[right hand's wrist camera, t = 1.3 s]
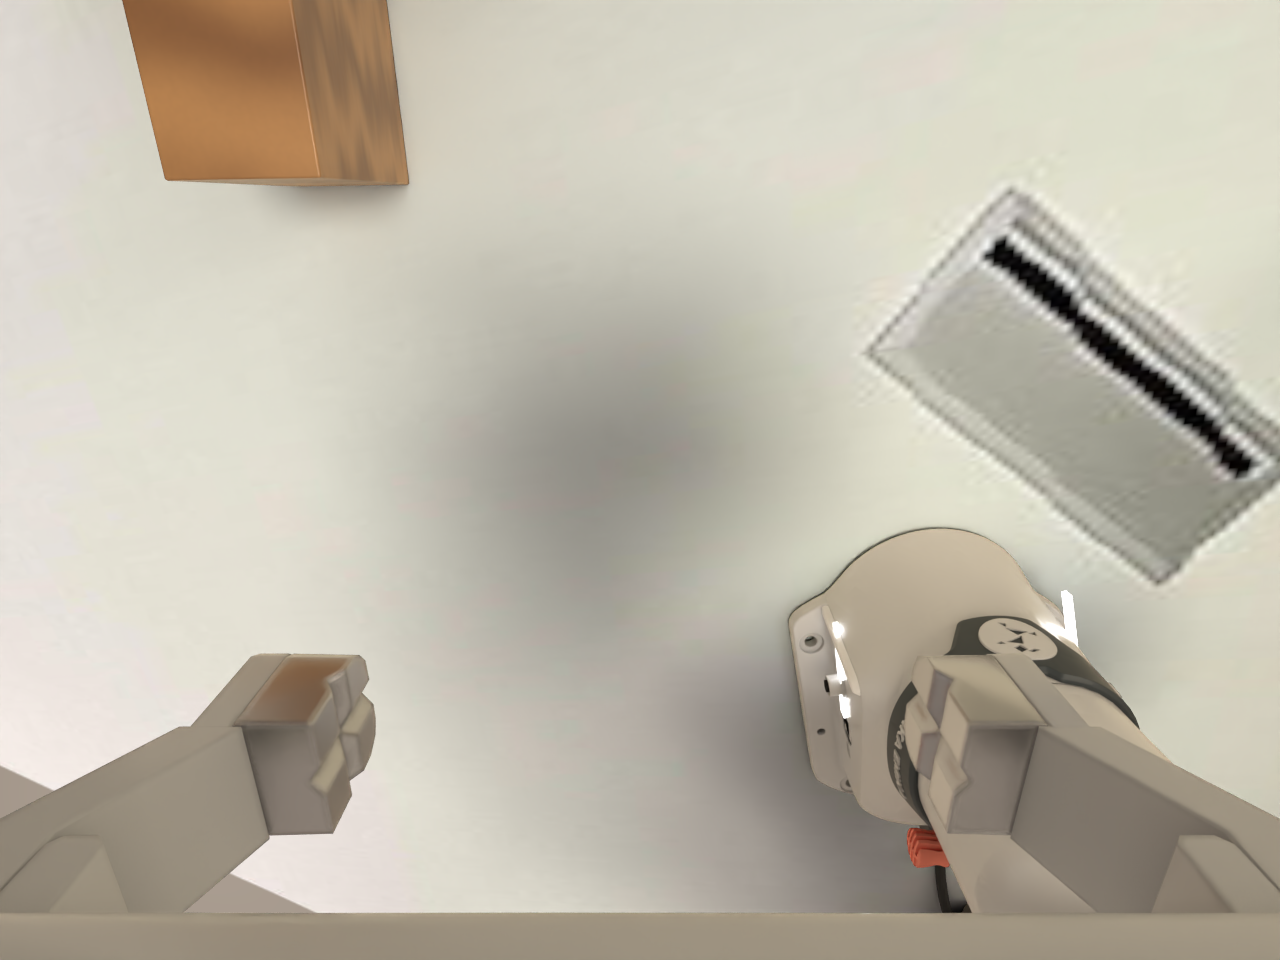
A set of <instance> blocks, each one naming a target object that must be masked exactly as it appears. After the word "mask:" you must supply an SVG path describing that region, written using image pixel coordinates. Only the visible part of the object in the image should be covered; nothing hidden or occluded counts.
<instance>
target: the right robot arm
mask: <svg viewBox="0 0 1280 960" xmlns="http://www.w3.org/2000/svg"><path fill="white" fill-rule="evenodd" d="M1062 601H1063V610H1064V615H1063V614H1062V612H1061V611H1060V610H1059V608H1058V607H1057V606H1056V605H1055V604H1054V603H1052V602H1051V601H1050V600H1048V599H1047V598H1045V597H1044V596H1042V595H1041V594H1039V593H1037V592H1036V591H1034V590H1033V588H1032V587H1031V585H1030V584H1029V582H1028V580H1027V579H1026V577H1025V575H1024V574H1023V572H1022V570H1021V568H1020V567H1019V565H1018V564H1017V562H1016V561H1015V560H1014V559H1013V558H1012V557H1011V555H1010V554H1009V553H1008V552H1006V551H1005V550H1004V549H1003V548H1002V547H1000V546H999V545H997V544H996V543H994V542H992V541H991V540H989V539H987V538H985V537H982V536H980V535H977V534H974V533H971V532H966V531H962V530H955V529H927V530H920V531H914V532H910V533H906V534H903V535H900V536H897V537H894V538H891V539H889V540H887V541H885V542H883V543H881V544H879V545H877V546H875V547H874V548H872V549H870V550H869V551H867V552H866V553H864V554H863V555H862V556H860V557H859V558H858V559H857V560H855V561H854V562H853V563H852V564H851V565H850V566H849V567H848V568H847V569H846V570H845V571H844V572H843V574H842V575H841V576H840V577H839V578H838V579H837V581H836V582H835V583H834V584H833V585H832V586H831V587H830V588H829V589H828V590H827V591H826V592H825V593H824V594H822V595H820V596H818V597H816V598H814V599H812V600H811V601H809V602H807V603H805V604H804V605H802V606H801V607H799V608H798V609H796V610H795V611H794V612H793V613H792V615H791V616H790V618H789V631H790V638H791V644H792V650H793V657H794V663H795V669H796V676H797V682H798V688H799V694H800V701H801V707H802V713H803V720H804V726H805V732H806V739H807V745H808V751H809V757H810V763H811V767H812V771H813V773H814V775H815V777H816V779H817V780H818V781H819V782H821V783H823V784H825V785H827V786H829V787H831V788H833V789H836V790H839V791H842V792H846V793H850V794H854V796H855V798H856V800H857V802H858V804H859V805H860V806H861V807H862V808H863V809H864V810H865V811H867V812H868V813H870V814H872V815H874V816H876V817H878V818H881V819H884V820H887V821H891V822H896V823H902V824H910V825H919V826H920V828H921V829H920V828H910V829H909V830H908V833H907V845H908V852H909V855H910V858H911V861H912V862H913V864H914V866H916V867H917V868H923V867H929V866H934V865H935V871H936V882H937V890H938V896H939V901H940V905H941V909H942V913H183V912H184V911H186V910H187V909H188V908H189V907H190V906H191V905H193V904H194V903H195V902H196V901H197V900H198V899H200V898H201V897H202V896H203V895H204V894H206V893H207V892H208V891H209V890H210V889H211V888H213V887H214V886H215V885H216V884H217V883H218V882H220V881H221V880H222V879H223V878H224V877H225V876H227V875H228V874H229V873H230V872H231V871H232V870H234V869H235V868H236V867H237V866H238V865H239V864H241V863H242V862H243V861H244V860H245V859H247V858H248V857H249V856H250V855H251V854H252V853H254V852H255V851H256V850H257V849H258V848H259V847H261V846H262V845H263V844H264V843H265V842H266V841H268V840H269V835H300V834H333V832H334V830H335V828H336V826H337V824H338V822H339V820H340V818H341V816H342V814H343V812H344V810H345V808H346V806H347V804H348V802H349V800H350V798H351V796H352V792H351V786H350V780H351V779H353V778H354V777H355V776H357V775H358V774H360V773H361V772H362V771H364V769H365V767H366V765H367V763H368V760H369V758H370V756H371V753H372V748H373V744H374V739H375V729H376V718H375V711H374V705H373V703H372V702H371V701H370V700H369V699H368V698H367V697H366V696H365V695H364V694H363V693H362V691H363V690H364V688H365V686H366V684H367V682H368V681H369V676H368V671H367V666H366V662H365V660H364V659H363V658H362V657H361V656H360V655H333V654H258V655H255V656H252V657H250V658H249V659H248V661H247V662H246V663H245V664H244V665H243V666H242V668H241V669H240V670H239V671H238V672H237V673H236V674H235V676H234V677H233V678H232V679H231V680H230V681H229V683H228V684H227V685H226V686H225V687H224V688H223V690H222V691H221V692H220V693H219V694H218V695H217V696H216V698H215V699H214V700H213V701H212V702H211V703H210V705H209V706H208V707H207V708H206V709H205V710H204V711H203V713H202V714H201V715H200V716H199V717H198V718H197V720H196V721H195V722H194V723H193V724H192V725H191V727H178V728H176V729H174V730H172V731H170V732H168V733H166V734H164V735H162V736H160V737H158V738H156V739H154V740H152V741H150V742H148V743H147V744H145V745H143V746H141V747H139V748H137V749H135V750H133V751H131V752H129V753H127V754H125V755H123V756H121V757H119V758H117V759H115V760H114V761H112V762H110V763H108V764H106V765H104V766H102V767H100V768H98V769H96V770H94V771H92V772H90V773H88V774H86V775H84V776H82V777H80V778H79V779H77V780H75V781H73V782H71V783H69V784H67V785H65V786H63V787H61V788H59V789H57V790H55V791H53V792H51V793H49V794H47V795H46V796H44V797H42V798H40V799H38V800H36V801H34V802H32V803H30V804H28V805H26V806H24V807H22V808H20V809H18V810H16V811H14V812H12V813H11V814H9V815H7V816H5V817H3V818H1V819H0V960H1280V819H1279V818H1277V817H1275V816H1273V815H1271V814H1269V813H1267V812H1265V811H1263V810H1261V809H1259V808H1257V807H1255V806H1253V805H1252V804H1250V803H1248V802H1246V801H1244V800H1242V799H1240V798H1238V797H1236V796H1234V795H1232V794H1230V793H1228V792H1226V791H1224V790H1222V789H1221V788H1219V787H1217V786H1215V785H1213V784H1211V783H1209V782H1207V781H1205V780H1203V779H1201V778H1199V777H1197V776H1195V775H1193V774H1191V773H1190V772H1188V771H1186V770H1184V769H1182V768H1180V767H1178V766H1176V765H1174V764H1173V763H1172V762H1171V761H1170V760H1169V759H1168V758H1167V757H1166V756H1165V755H1164V754H1163V753H1162V752H1161V751H1160V750H1159V749H1158V748H1157V747H1156V746H1155V745H1154V744H1153V743H1152V742H1151V741H1150V740H1149V739H1148V738H1147V737H1146V736H1145V735H1144V734H1143V733H1142V732H1141V731H1140V728H1139V725H1138V723H1137V720H1136V718H1135V716H1134V714H1133V713H1132V711H1131V709H1130V708H1129V707H1128V705H1127V704H1126V703H1125V702H1124V701H1123V700H1122V697H1121V695H1120V694H1119V693H1118V691H1117V690H1116V689H1115V688H1114V687H1113V686H1112V684H1111V683H1107V682H1106V680H1105V679H1104V678H1103V677H1102V676H1101V675H1100V674H1099V673H1098V672H1097V671H1096V670H1095V669H1094V668H1093V666H1092V665H1091V664H1090V662H1089V661H1088V660H1087V658H1086V657H1085V656H1084V654H1083V653H1082V652H1081V650H1080V649H1079V648H1078V644H1077V635H1076V626H1075V617H1074V608H1073V599H1072V595H1071V594H1070V593H1068V592H1067V591H1063V592H1062ZM1065 628H1066V631H1065ZM810 636H813V637H814V638H813V639H812V640H810V641H806V640H805V639H806V638H807V637H810ZM949 866H951V868H952V871H953V873H954V875H955V877H956V879H957V881H958V884H959V886H960V888H961V890H962V892H963V894H964V897H965V899H966V901H967V903H968V905H969V907H970V910H971V912H972V913H952V909H951V906H950V901H949V897H948V891H947V884H946V874H945V867H949Z"/></svg>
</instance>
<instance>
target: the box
mask: <svg viewBox="0 0 1280 960" xmlns="http://www.w3.org/2000/svg"><path fill="white" fill-rule="evenodd" d="M122 1H123V5H124V9H125V14H126V18H127V22H128V26H129V30H130V34H131V39H132V43H133V47H134V51H135V55H136V60H137V64H138V68H139V72H140V76H141V80H142V85H143V89H144V93H145V97H146V101H147V105H148V110H149V114H150V118H151V122H152V126H153V130H154V135H155V139H156V143H157V147H158V151H159V156H160V160H161V164H162V168H163V172H164V176H165V179H166V180H168V181H187V182H209V183H231V184H254V185H276V186H353V185H408V184H409V180H408V172H407V164H406V156H405V148H404V140H403V132H402V124H401V116H400V108H399V99H398V91H397V83H396V75H395V67H394V59H393V51H392V43H391V35H390V27H389V19H388V11H387V3H386V0H122Z"/></svg>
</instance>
